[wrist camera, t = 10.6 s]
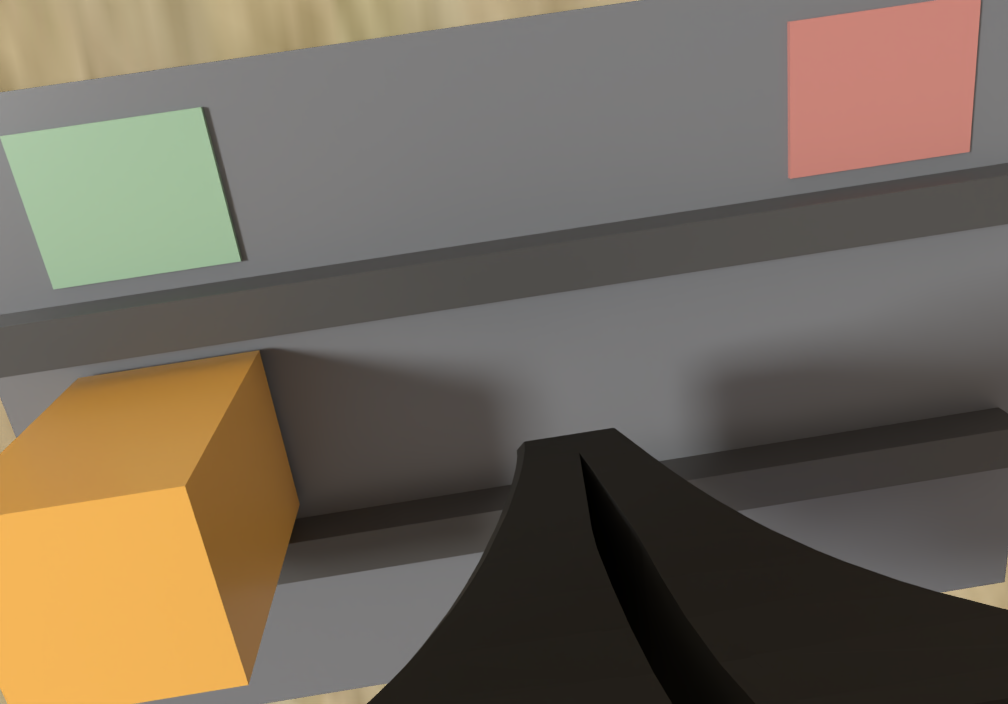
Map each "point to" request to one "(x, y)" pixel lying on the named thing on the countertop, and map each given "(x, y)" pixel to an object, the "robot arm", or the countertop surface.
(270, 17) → the countertop surface
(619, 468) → the robot arm
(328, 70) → the switch panel
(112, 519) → the knob
